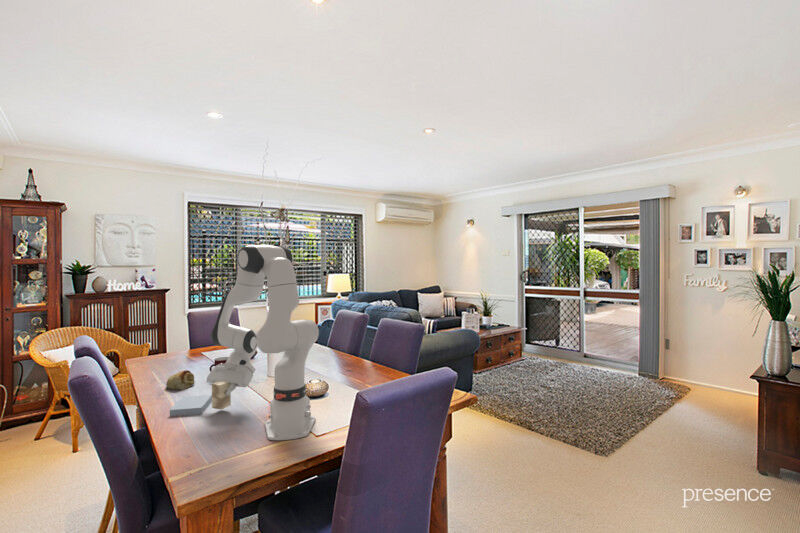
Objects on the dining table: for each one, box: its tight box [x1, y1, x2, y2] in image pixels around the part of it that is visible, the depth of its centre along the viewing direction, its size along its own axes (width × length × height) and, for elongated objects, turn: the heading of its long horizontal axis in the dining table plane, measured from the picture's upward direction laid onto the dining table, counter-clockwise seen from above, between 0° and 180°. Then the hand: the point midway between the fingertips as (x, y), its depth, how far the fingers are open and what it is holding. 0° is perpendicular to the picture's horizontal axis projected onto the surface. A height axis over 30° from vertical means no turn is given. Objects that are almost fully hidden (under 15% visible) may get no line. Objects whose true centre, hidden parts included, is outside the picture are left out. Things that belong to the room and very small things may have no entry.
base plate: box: [169, 394, 212, 417], centre depth 171 cm, size 16×12×3 cm
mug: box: [209, 356, 229, 373], centre depth 214 cm, size 10×8×10 cm
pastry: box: [165, 369, 196, 391], centre depth 201 cm, size 14×12×8 cm
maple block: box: [210, 381, 232, 410], centre depth 167 cm, size 5×5×10 cm
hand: (220, 394), depth 166 cm, fingers closed on maple block, 5 cm apart
